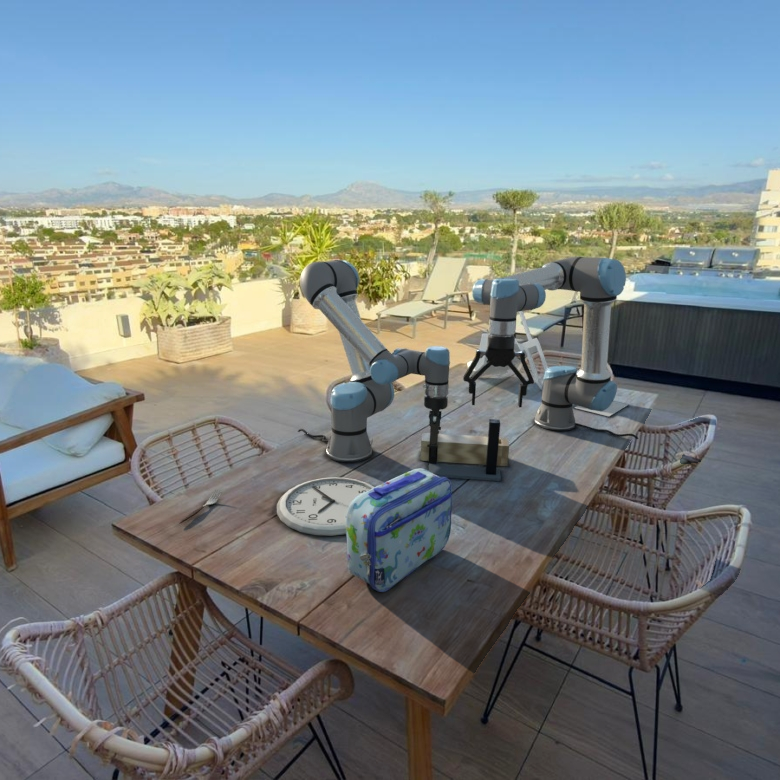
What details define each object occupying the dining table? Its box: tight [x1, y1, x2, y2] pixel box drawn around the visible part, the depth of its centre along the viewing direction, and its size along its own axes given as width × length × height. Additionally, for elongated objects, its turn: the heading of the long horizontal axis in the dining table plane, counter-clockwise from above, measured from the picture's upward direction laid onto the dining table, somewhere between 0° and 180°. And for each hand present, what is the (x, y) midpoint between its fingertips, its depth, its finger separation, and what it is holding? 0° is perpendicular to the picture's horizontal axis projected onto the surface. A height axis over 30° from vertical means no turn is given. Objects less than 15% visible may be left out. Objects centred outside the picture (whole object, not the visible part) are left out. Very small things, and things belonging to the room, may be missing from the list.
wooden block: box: [420, 432, 510, 467], centre depth 172 cm, size 28×7×7 cm, turn 83°
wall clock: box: [276, 476, 376, 537], centre depth 142 cm, size 30×2×30 cm
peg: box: [485, 418, 501, 475], centre depth 159 cm, size 3×3×17 cm
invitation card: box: [573, 400, 629, 418], centre depth 226 cm, size 21×1×15 cm
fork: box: [178, 489, 223, 525], centre depth 139 cm, size 3×16×2 cm, turn 160°
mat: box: [428, 463, 502, 482], centre depth 162 cm, size 22×7×1 cm, turn 83°
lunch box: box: [345, 467, 453, 593], centre depth 115 cm, size 26×11×21 cm, turn 135°
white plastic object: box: [466, 311, 549, 390], centre depth 259 cm, size 37×45×31 cm
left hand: (433, 456), depth 174 cm, fingers open, 12 cm apart
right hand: (496, 404), depth 155 cm, fingers open, 13 cm apart
